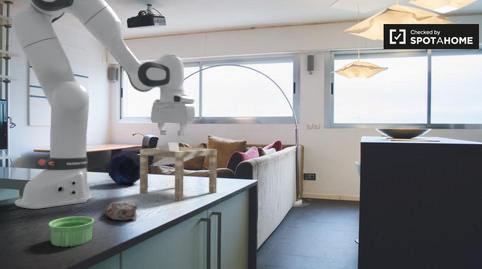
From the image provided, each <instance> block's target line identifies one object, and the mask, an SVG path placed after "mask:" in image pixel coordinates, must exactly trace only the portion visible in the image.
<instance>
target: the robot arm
mask: <svg viewBox="0 0 482 269" xmlns="http://www.w3.org/2000/svg"><path fill="white" fill-rule="evenodd" d="M28 2H29V5H28V7H26V8H23V9H20V10H18V11H17V12H16V13H14V14H13V16H12V18H11V19H12V20H11V23H12V25H13V30H14V32H15V35H16V38H17V41H18V43H19V45H20V47H21V49H22V50H23V51H22V52H23V53H24V55H25V57H26V59H27V60H28V62H29V65H30V67H31V69H32V70H33V72H34V75H35V77H36V78H37V80H38V83H39V85H40V87H41V90H42V92H43V93H44V96H45V98H46V99H47V101H48V104H49V106H50V128H49V129H50V133H49V157H48V158H47V159H43V158H41V159H39V160H38V161H37V164H38V165H39V166H44V169H43V170H42V171H41V172H40V173H38V174H37V175H35V176H34V177H33V178H31V179H30V180H29V181H28V182H26V184H25V186H24V188H23V194H22V198H19V199H16V200H14V205H15V206H17V207H19V208H25V209H33V210H34V209H35V210H36V209H38V210H39V209H43V208H46V209H47V208H52V207H61V206H65V205H66V206H68V205H73V204H75V205H76V204H81V203H87V202H88V200H90V199H92V194H91V190H90V187H89V181H88V169H89V166H88V165H89V163H88V162H89V161H88V160H89V159H88V158H89V157H88V156H87V134H88V133H87V132H88V122H89V109H90V108H89V107H90V96H89V92H88V91H87V89H86V88H85V87H84V85H82V84H80V83H78V80H77V79H76V78H75V74H74V71H73V69H72V66H71V64H70V60H69V58H68V56H67V54H66V52H65V50H64V48H63V46H62V44H61V42H60V40H59V38H58V35H57V34H56V31H55V30H54V26H53V23H54V22H56V21H57V20H59V19H61V17H62V16H64V15H65V13H67V14H71V15H72V16H74V17H75V18H76V19H78V20H79V22H80V23H81V25H83V26H84V28H85V29H86V30H87V31H88V32H89V33H90V34H91V35H92V36H93V37H94V38H95V39H96V40H97V41H98V42H99V43H100V44H101V46H103V47H104V48H105V49H106V50H107V51H109V53H110V54H111V56H112V57H113V58H114V59H115V61H116V62H117V63H118V64H119V65H120V66H121V68H122V69H123V70H124V71H125V73H126V76H127V78H128V80H129V82H130V83H129V84H130V85H131V86H132V88H133V89H134V90H136V91H138V92H142V93H146V92H150V91H151V90H153V89H155V88H159V91H160V93H159V94H160V95H159V96H160V97H159V98H160V99H159V98H158V99H157V98H156V99H155V100H154V101H153V103H152V107H151V112H150V121H151V123H152V124H157V127H158V129H159V134H160V135H161V136H166V135H167V130H166V129H165V124H179V127H180V128H179V130H177V137H178V136H180V137H183V136H184V135H185V130H186V128H187V124H193V123H194V122H195V118H196V117H195V116H196V115H195V112H196V111H195V106H194V103H195V98H194V97H193V96H189V95H188V94H187V95H186V94H185V90H184V82H185V68H184V67H185V66H184V62H183V60H182V59H181V58H180V57H179V56H176V55H173V54H164V55H162V56H160V57H158V58H156V59H154V60H149V61H146V62H142V63H141V62H140V61H139V60H138V59H137V57H136V56H135V55H134V53H133V52H132V51H131V50H130V49H129V47H128V46H127V44H126V43H125V40H124V36H123V25H122V24H123V23H122V22H121V20H120V18H119V17H118V15H117V13H116V12H115V11H114V9H113V8H112V7H111V6H110V5H109V4H108V2H106V0H29V1H28Z"/></svg>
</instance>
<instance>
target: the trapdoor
mask: <svg viewBox="0 0 482 269" xmlns="http://www.w3.org/2000/svg"><path fill="white" fill-rule="evenodd" d="M205 149H206V148H204V149H203V150H205ZM189 151H193V150H189ZM191 159H194V157H185V158H184V163H185V162H186V161H189V160H191ZM173 164H174V165H175V158H173V157H166V158H164V159H162V158H161V159H159V160H158V161H156V162H154V163H153V166H154V167H158V166H167V165H168V166H169V165H173Z"/></svg>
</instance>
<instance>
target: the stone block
mask: <svg viewBox="0 0 482 269" xmlns="http://www.w3.org/2000/svg"><path fill="white" fill-rule="evenodd" d="M179 147H180V146H179V143H178V141H175V142H174V141H173V142H166V143H164V144H162V145H160V146H159V147H158V148H159V149H160V150H167V151H179ZM160 157H161V160H162V159H164V158H166V157H162V156H160Z"/></svg>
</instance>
